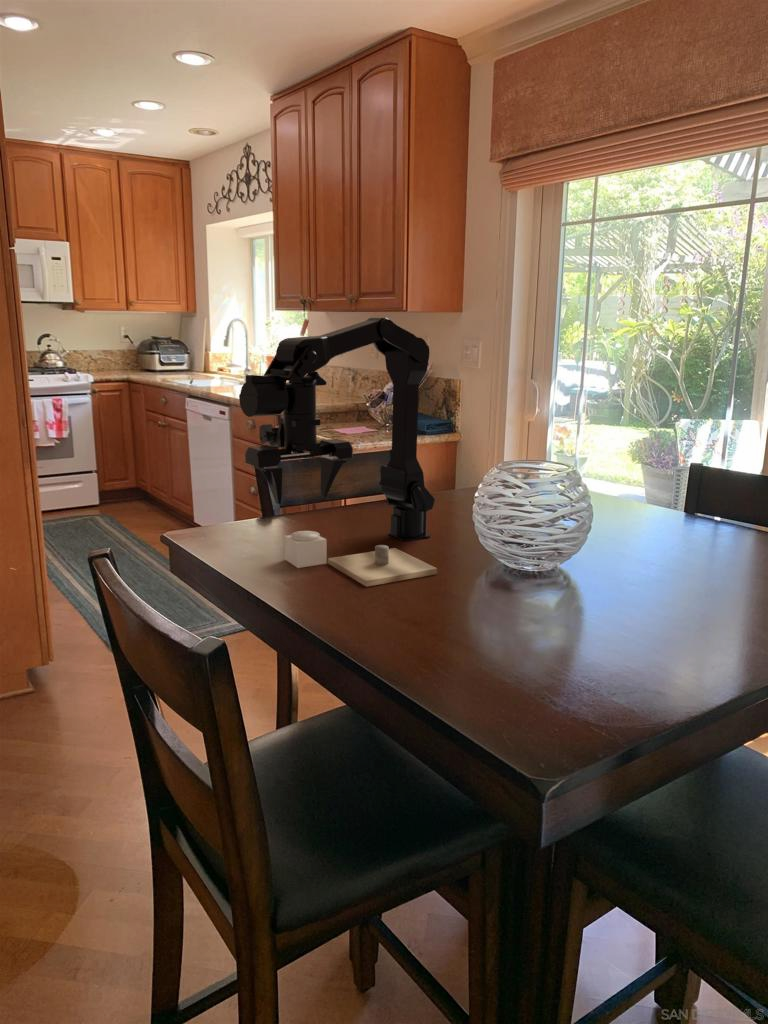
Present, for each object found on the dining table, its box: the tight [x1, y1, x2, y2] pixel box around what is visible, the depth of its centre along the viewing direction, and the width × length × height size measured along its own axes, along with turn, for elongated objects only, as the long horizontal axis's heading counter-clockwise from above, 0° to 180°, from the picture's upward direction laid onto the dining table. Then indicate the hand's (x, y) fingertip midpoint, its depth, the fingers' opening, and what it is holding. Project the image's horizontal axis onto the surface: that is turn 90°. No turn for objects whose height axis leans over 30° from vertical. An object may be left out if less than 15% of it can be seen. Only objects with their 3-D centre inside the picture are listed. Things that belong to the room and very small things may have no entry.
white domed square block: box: [284, 530, 328, 569], centre depth 135 cm, size 6×6×5 cm
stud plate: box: [327, 544, 438, 587], centre depth 132 cm, size 14×14×4 cm
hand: (301, 500), depth 134 cm, fingers open, 9 cm apart
